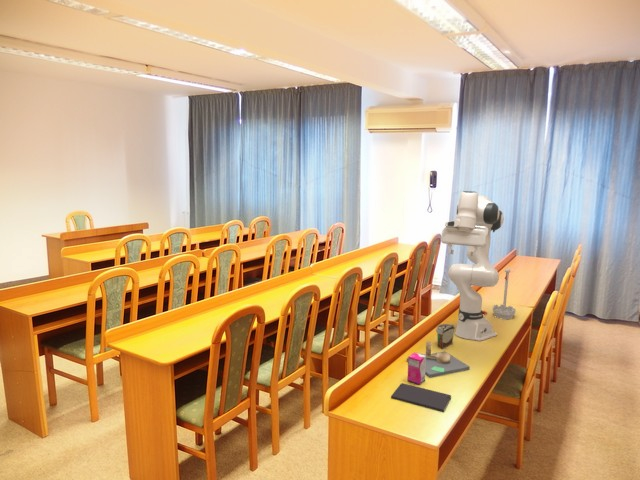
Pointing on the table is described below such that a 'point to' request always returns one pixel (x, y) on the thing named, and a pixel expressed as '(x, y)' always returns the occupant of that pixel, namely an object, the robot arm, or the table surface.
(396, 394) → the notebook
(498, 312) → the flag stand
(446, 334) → the brown cream half-round block
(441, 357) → the tan wooden handled piece
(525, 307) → the table surface
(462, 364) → the flat gray board
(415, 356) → the supplement box
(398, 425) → the table surface
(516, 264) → the table surface
